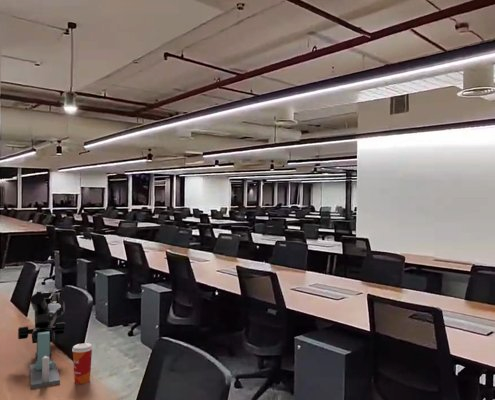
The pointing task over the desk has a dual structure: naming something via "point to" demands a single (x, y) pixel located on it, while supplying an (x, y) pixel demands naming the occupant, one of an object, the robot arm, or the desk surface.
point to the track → (39, 376)
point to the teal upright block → (43, 349)
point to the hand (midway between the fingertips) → (42, 348)
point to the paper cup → (82, 362)
